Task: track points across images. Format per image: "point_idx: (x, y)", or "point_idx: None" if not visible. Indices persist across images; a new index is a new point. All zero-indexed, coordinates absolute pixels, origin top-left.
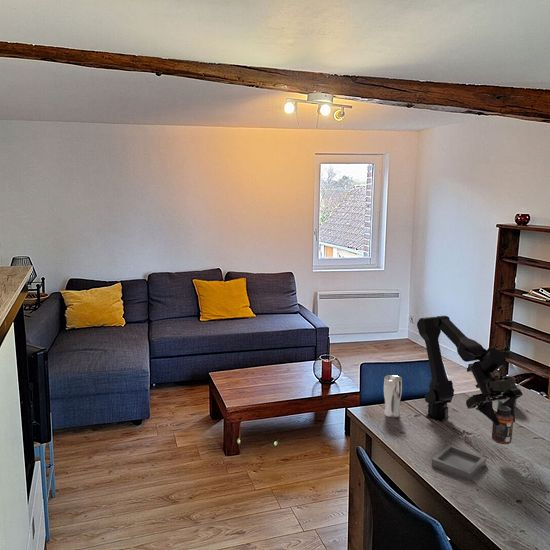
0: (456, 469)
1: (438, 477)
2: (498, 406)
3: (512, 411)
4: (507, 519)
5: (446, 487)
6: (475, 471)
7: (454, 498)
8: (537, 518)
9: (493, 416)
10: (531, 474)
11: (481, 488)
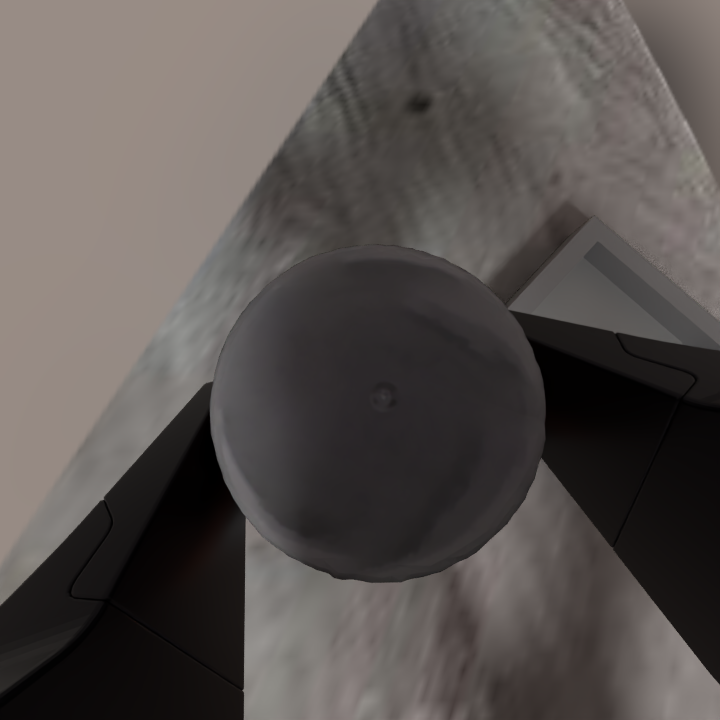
0: (643, 265)
1: (697, 269)
2: (501, 507)
3: (154, 474)
4: (505, 16)
5: (677, 198)
6: (544, 265)
7: (660, 130)
8: (398, 14)
9: (579, 330)
10: (261, 278)
11: (535, 185)
